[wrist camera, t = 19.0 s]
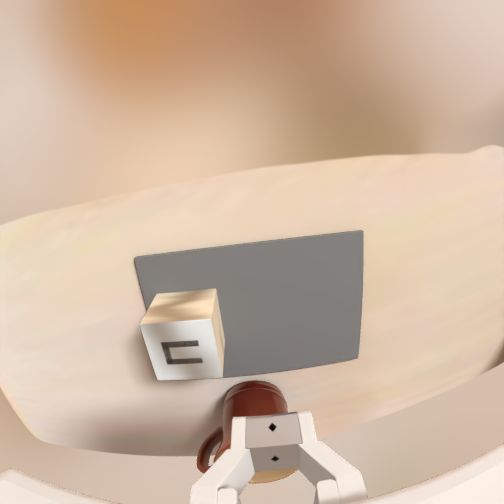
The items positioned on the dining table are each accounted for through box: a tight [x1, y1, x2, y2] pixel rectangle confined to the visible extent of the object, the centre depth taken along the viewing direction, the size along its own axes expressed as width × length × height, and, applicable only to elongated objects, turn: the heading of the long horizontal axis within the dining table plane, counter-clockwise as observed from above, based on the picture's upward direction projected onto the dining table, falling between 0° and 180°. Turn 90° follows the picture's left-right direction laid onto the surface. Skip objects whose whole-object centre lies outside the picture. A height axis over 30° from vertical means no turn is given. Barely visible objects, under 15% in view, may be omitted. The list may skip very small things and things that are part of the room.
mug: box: [197, 380, 298, 483], centre depth 30 cm, size 12×9×10 cm
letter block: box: [140, 288, 225, 380], centre depth 27 cm, size 6×6×6 cm
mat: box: [134, 230, 363, 380], centre depth 30 cm, size 22×15×1 cm
